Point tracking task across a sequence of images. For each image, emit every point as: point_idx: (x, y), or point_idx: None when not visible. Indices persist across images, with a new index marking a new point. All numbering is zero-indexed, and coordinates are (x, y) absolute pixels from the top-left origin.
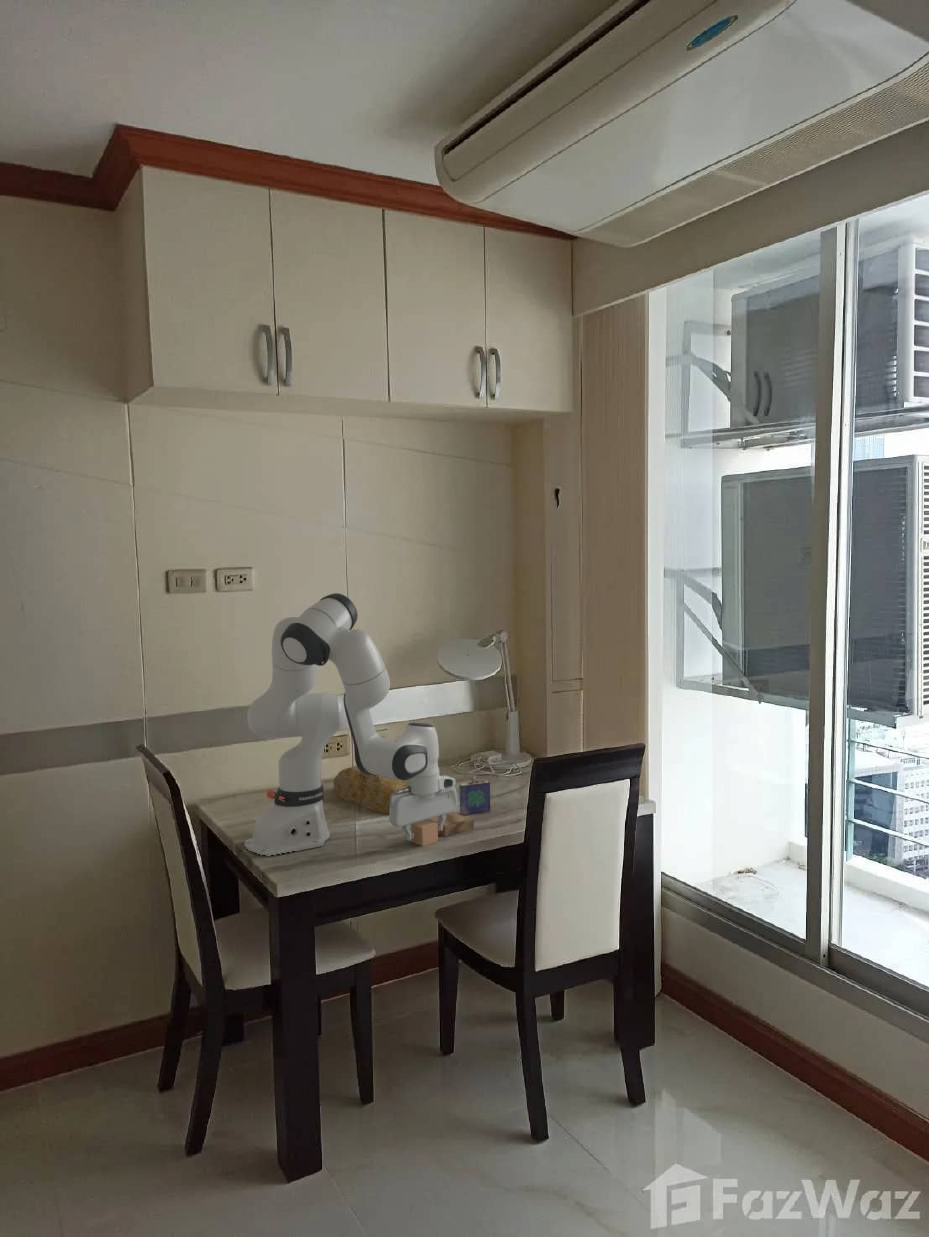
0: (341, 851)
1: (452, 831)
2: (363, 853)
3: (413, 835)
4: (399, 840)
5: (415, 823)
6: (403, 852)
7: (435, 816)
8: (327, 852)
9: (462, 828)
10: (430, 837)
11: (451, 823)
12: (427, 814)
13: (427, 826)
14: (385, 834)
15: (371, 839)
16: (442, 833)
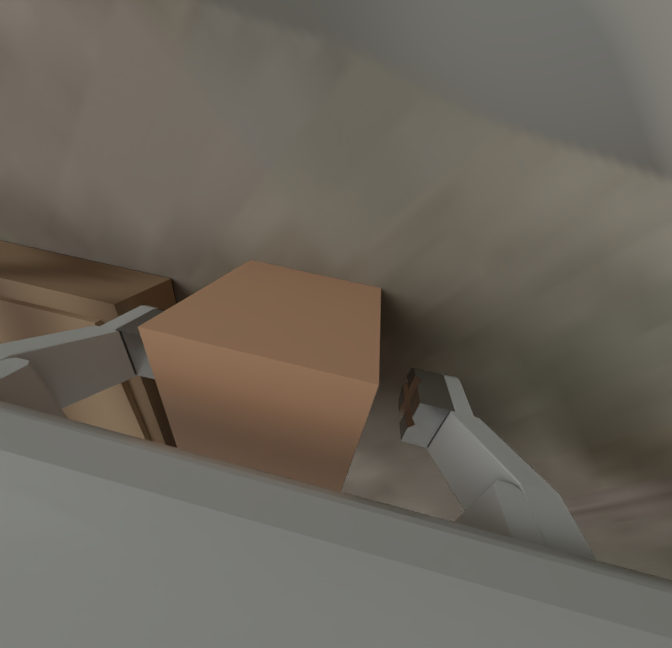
0: (632, 537)
1: (93, 272)
2: (646, 476)
3: (425, 387)
4: (377, 430)
5: (315, 478)
6: (565, 321)
7: (63, 420)
8: (659, 563)
9: (14, 255)
10: (300, 291)
11: (36, 313)
12: (157, 559)
13: (294, 362)
14: (353, 489)
15: (430, 505)
16: (163, 308)
